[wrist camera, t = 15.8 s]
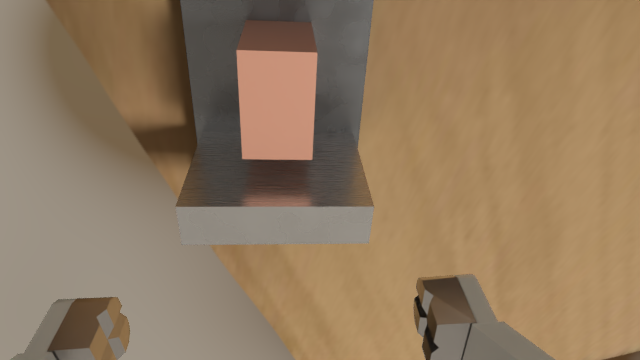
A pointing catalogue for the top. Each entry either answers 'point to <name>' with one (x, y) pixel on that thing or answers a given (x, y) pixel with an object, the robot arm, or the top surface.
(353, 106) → the tray
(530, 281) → the top surface
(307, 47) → the block
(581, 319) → the top surface
